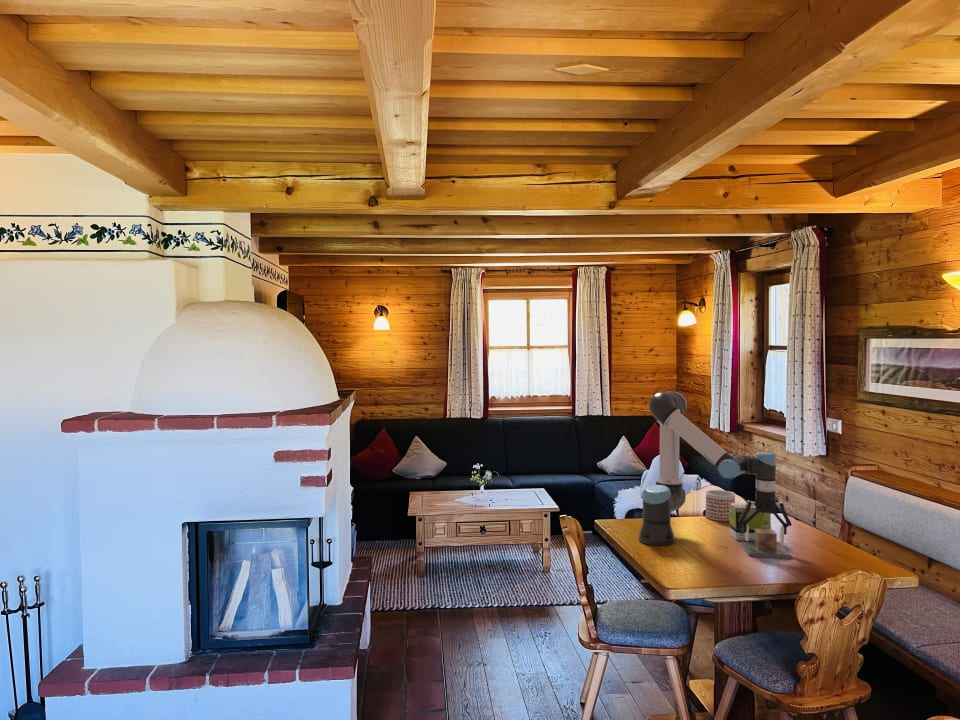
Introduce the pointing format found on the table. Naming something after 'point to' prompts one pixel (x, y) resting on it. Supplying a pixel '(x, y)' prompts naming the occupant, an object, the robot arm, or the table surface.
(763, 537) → the walnut cube
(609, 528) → the table surface
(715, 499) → the planter
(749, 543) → the slate board
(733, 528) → the tea box
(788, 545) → the table surface
